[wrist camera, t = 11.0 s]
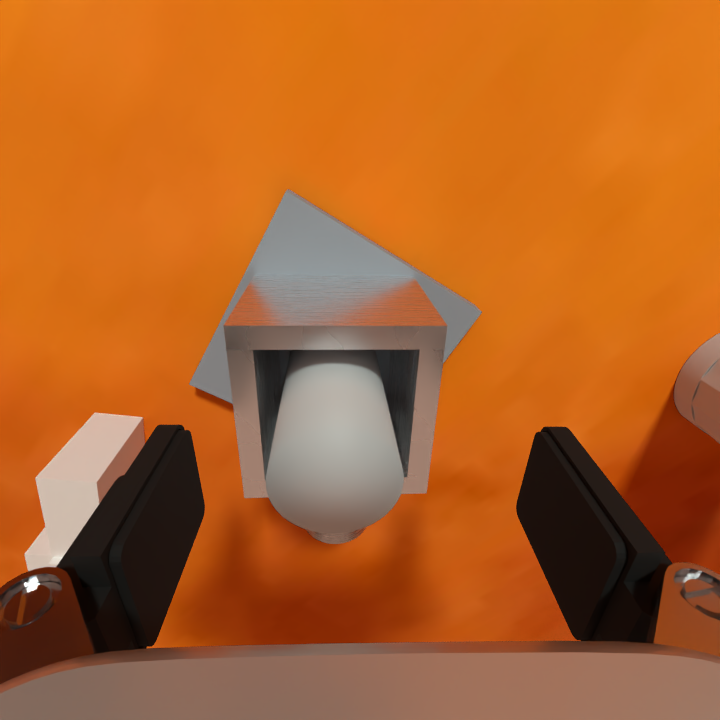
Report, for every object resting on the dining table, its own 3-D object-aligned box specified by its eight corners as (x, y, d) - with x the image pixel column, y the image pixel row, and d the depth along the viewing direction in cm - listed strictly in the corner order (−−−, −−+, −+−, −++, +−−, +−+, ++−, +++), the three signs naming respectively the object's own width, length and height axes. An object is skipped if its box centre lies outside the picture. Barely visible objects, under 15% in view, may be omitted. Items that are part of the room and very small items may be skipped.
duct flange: (475, 305, 20) (590, 425, 11) (365, 451, 24) (387, 633, 15) (288, 189, 18) (245, 225, 9) (194, 374, 21) (94, 539, 12)
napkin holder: (135, 594, 28) (92, 691, 23) (-35, 505, 24) (-133, 600, 19) (291, 469, 25) (281, 552, 19) (120, 340, 20) (50, 402, 15)
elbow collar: (254, 274, 18) (223, 325, 13) (413, 275, 18) (447, 326, 13) (271, 466, 22) (252, 565, 17) (397, 464, 23) (418, 559, 18)
